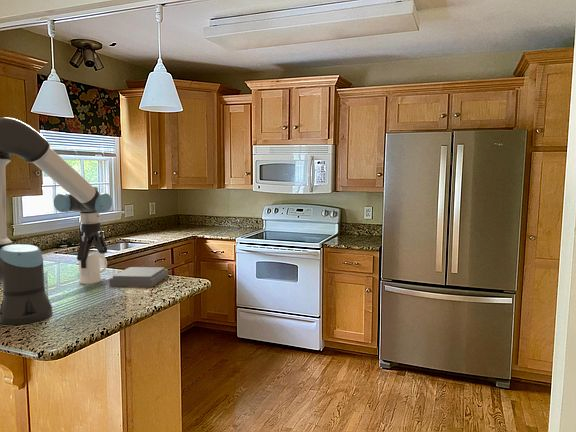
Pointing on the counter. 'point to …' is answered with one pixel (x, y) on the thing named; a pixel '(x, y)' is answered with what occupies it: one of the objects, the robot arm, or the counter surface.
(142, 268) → the podium
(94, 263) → the mug
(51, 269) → the counter surface
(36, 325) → the counter surface
